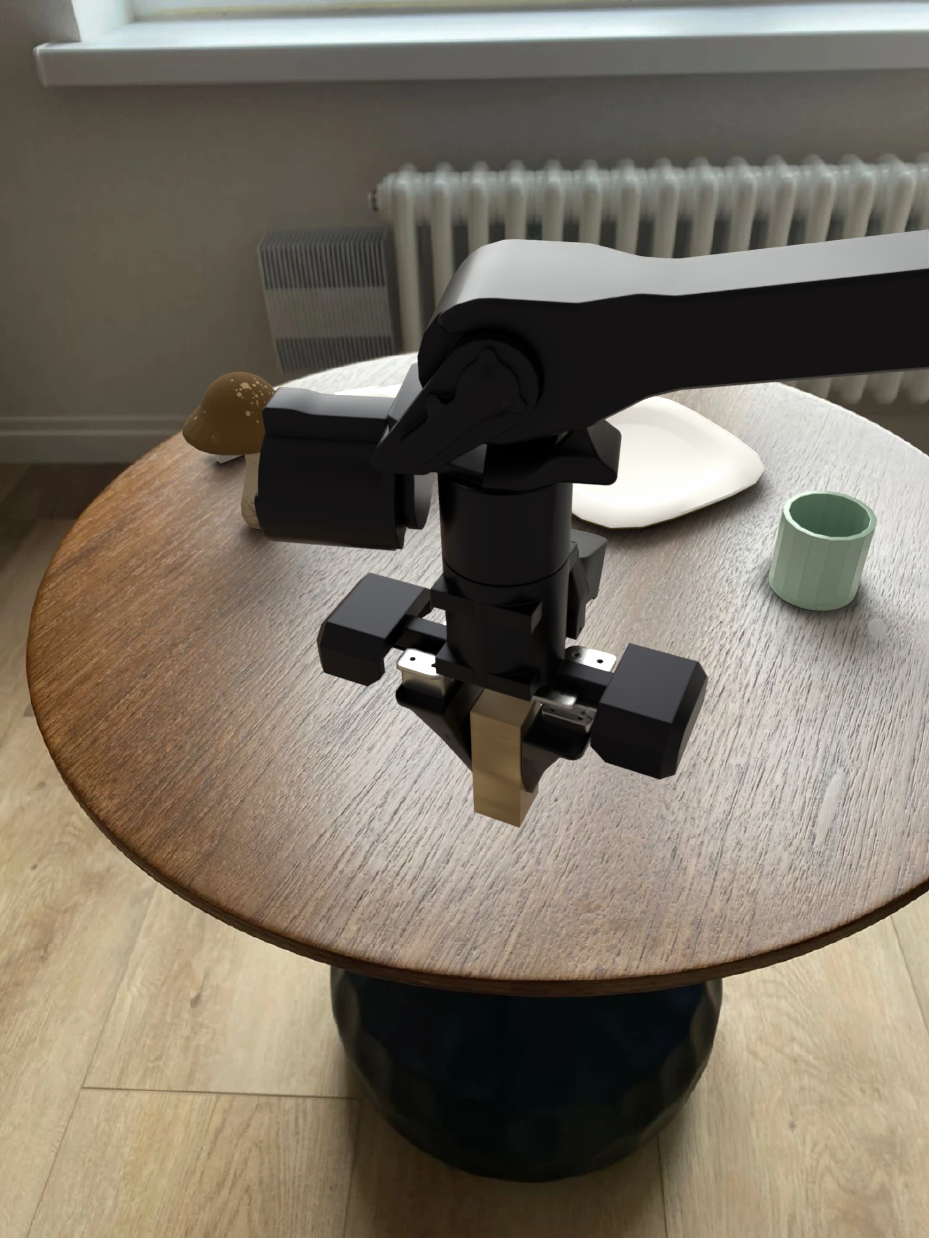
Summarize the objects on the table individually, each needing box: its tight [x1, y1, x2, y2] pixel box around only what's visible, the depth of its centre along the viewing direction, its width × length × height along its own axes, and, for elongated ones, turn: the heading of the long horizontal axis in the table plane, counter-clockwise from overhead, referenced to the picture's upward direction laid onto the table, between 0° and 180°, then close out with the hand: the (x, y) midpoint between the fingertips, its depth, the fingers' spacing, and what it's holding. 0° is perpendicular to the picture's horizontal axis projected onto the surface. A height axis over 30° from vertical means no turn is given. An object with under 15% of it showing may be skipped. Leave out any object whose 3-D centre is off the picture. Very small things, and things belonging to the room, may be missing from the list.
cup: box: [768, 490, 878, 612], centre depth 78 cm, size 7×7×7 cm
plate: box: [572, 396, 766, 530], centre depth 95 cm, size 22×22×2 cm
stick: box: [470, 689, 542, 828], centre depth 52 cm, size 3×3×8 cm
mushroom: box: [181, 371, 276, 530], centre depth 86 cm, size 9×11×15 cm
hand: (506, 778), depth 53 cm, fingers closed on stick, 3 cm apart
